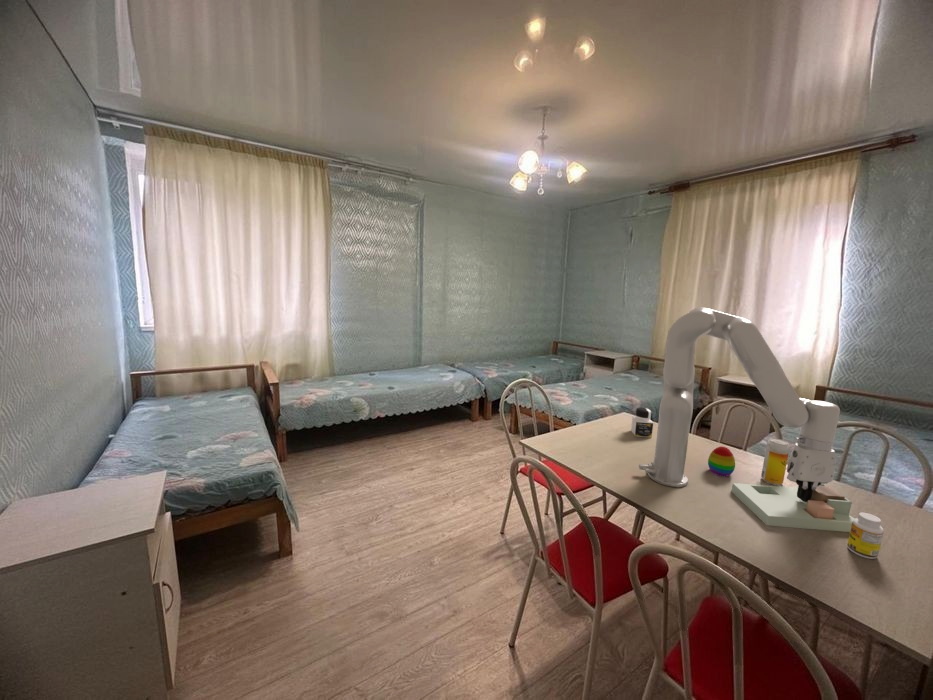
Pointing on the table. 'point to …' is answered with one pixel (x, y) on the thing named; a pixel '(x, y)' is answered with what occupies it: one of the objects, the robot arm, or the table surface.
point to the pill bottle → (775, 461)
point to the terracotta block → (819, 509)
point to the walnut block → (826, 494)
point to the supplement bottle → (866, 536)
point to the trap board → (791, 508)
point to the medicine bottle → (642, 423)
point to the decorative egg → (721, 461)
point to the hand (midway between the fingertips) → (803, 499)
